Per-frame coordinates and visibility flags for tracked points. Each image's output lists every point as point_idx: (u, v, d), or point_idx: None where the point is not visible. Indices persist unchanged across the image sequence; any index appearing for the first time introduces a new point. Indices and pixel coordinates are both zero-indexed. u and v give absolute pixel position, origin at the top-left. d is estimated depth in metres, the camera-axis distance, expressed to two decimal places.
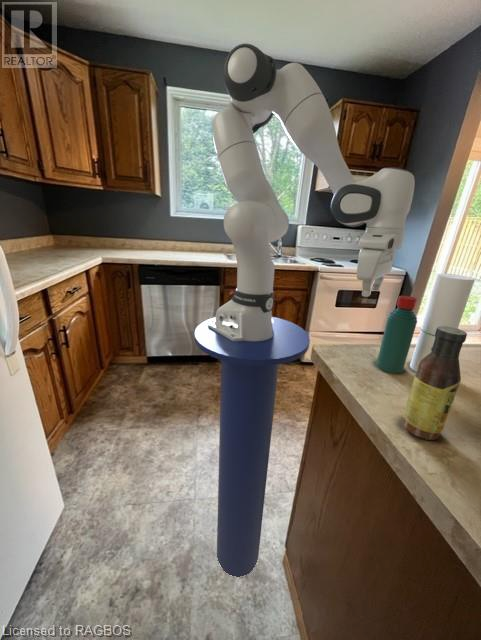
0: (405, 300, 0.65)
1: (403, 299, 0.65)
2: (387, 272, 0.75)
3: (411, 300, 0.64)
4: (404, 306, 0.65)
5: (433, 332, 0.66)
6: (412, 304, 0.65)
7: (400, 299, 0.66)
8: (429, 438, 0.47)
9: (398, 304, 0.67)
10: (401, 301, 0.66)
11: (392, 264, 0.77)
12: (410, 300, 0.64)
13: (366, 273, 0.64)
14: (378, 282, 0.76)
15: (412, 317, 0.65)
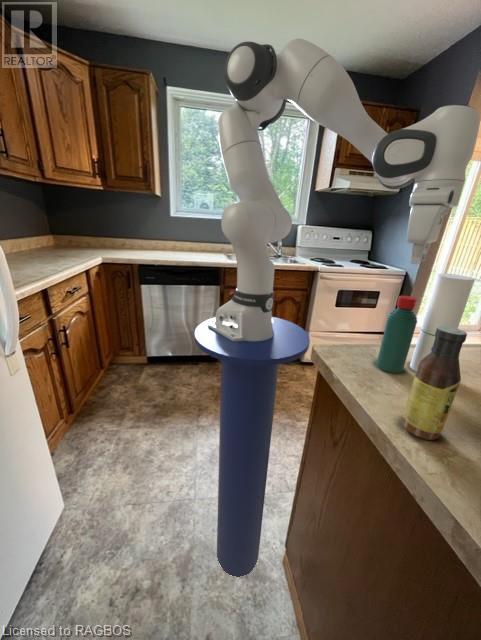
0: (405, 300, 0.65)
1: (403, 299, 0.65)
2: (435, 239, 0.64)
3: (411, 300, 0.64)
4: (404, 306, 0.65)
5: (433, 332, 0.66)
6: (412, 304, 0.65)
7: (400, 299, 0.66)
8: (429, 438, 0.47)
9: (398, 304, 0.67)
10: (401, 301, 0.66)
11: (439, 231, 0.66)
12: (410, 300, 0.64)
13: (420, 233, 0.53)
14: (423, 252, 0.65)
15: (412, 317, 0.65)
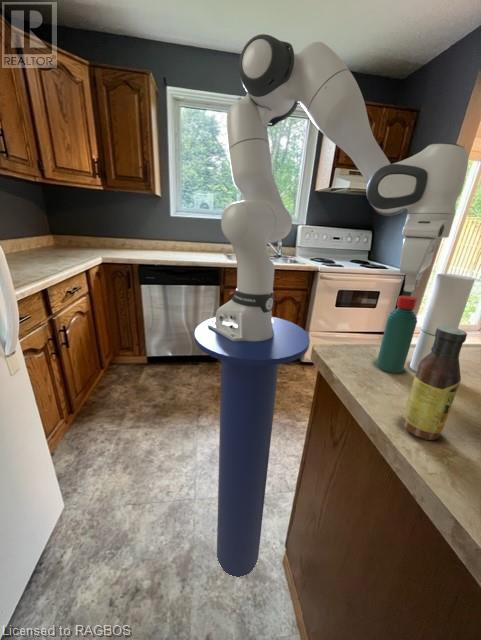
0: (405, 300, 0.65)
1: (403, 299, 0.65)
2: (428, 265, 0.66)
3: (411, 300, 0.64)
4: (404, 306, 0.65)
5: (433, 332, 0.66)
6: (412, 304, 0.65)
7: (400, 299, 0.66)
8: (429, 438, 0.47)
9: (398, 304, 0.67)
10: (401, 301, 0.66)
11: (432, 256, 0.69)
12: (410, 300, 0.64)
13: (412, 265, 0.55)
14: (416, 277, 0.67)
15: (412, 317, 0.65)
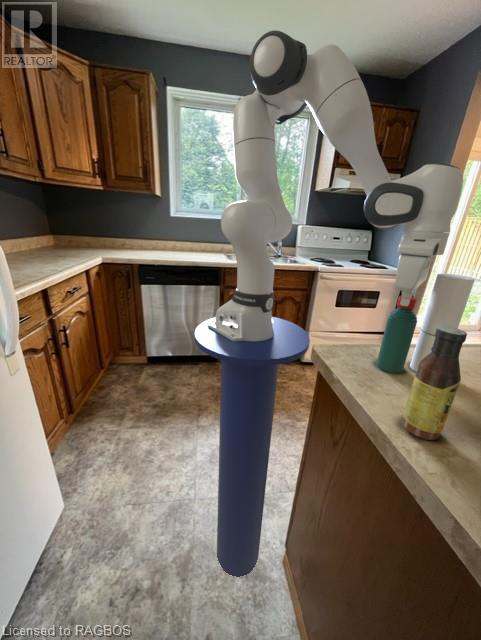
0: None
1: None
2: (424, 280, 0.67)
3: (411, 300, 0.64)
4: (404, 306, 0.65)
5: (433, 332, 0.66)
6: (412, 304, 0.65)
7: (400, 299, 0.66)
8: (429, 438, 0.47)
9: (398, 304, 0.67)
10: None
11: None
12: None
13: (407, 282, 0.57)
14: (411, 292, 0.68)
15: (412, 317, 0.65)
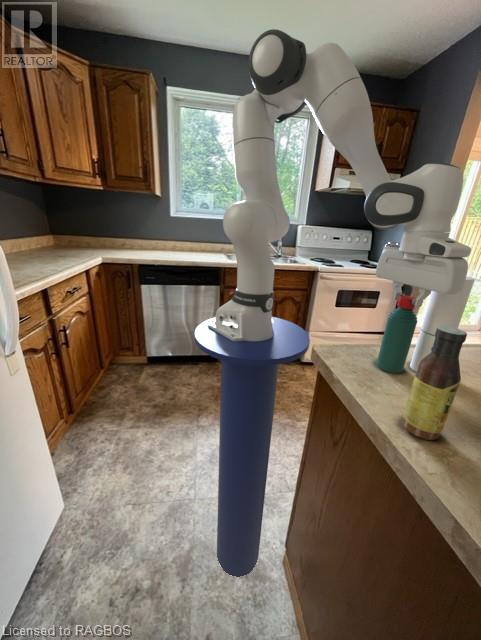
0: None
1: None
2: None
3: None
4: (413, 307, 0.65)
5: (433, 332, 0.66)
6: None
7: (408, 301, 0.64)
8: (429, 438, 0.47)
9: (406, 306, 0.65)
10: (409, 303, 0.64)
11: None
12: None
13: (459, 286, 0.55)
14: (399, 291, 0.68)
15: (412, 317, 0.65)
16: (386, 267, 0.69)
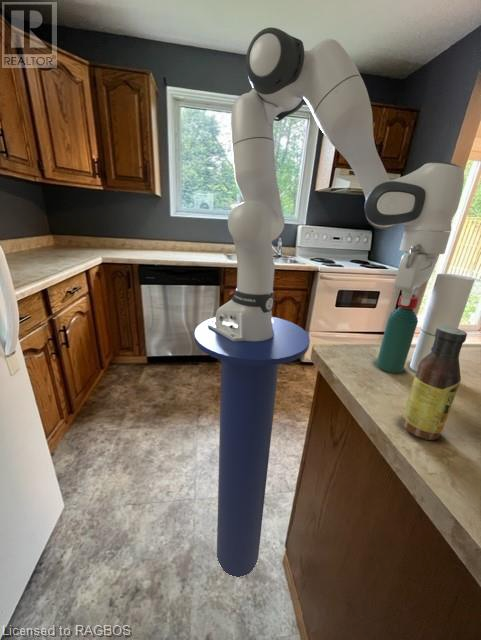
0: None
1: None
2: None
3: None
4: None
5: (433, 332, 0.66)
6: None
7: None
8: (429, 438, 0.47)
9: None
10: None
11: None
12: None
13: None
14: None
15: (413, 317, 0.65)
16: (418, 275, 0.58)
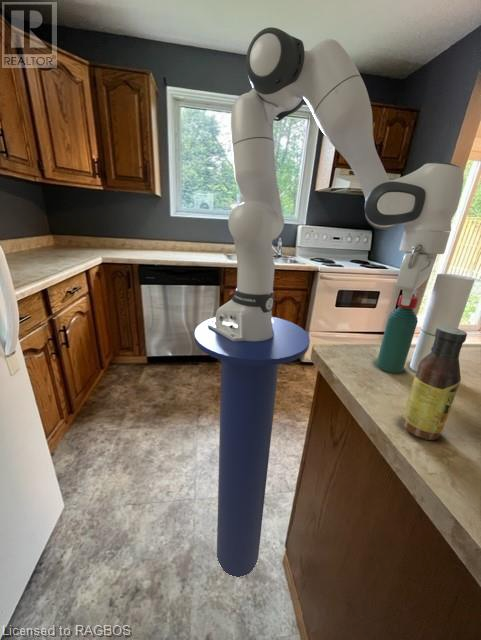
0: None
1: None
2: None
3: None
4: None
5: (433, 332, 0.66)
6: None
7: None
8: (429, 438, 0.47)
9: None
10: None
11: None
12: None
13: None
14: None
15: (413, 317, 0.65)
16: (419, 276, 0.58)
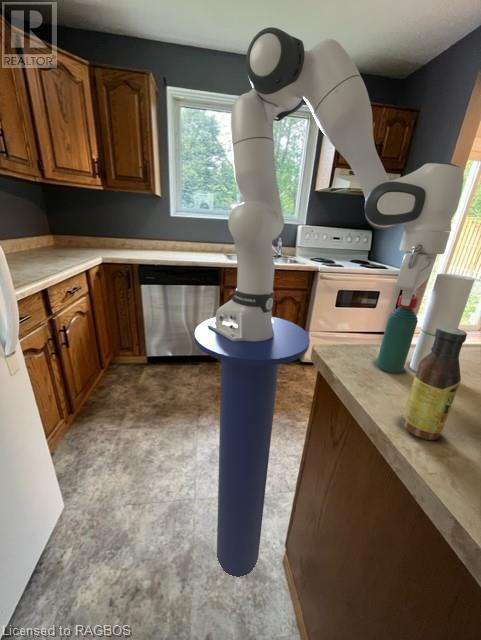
0: None
1: None
2: None
3: None
4: None
5: (433, 332, 0.66)
6: None
7: None
8: (429, 438, 0.47)
9: None
10: None
11: None
12: None
13: None
14: None
15: (413, 317, 0.65)
16: (419, 276, 0.58)
